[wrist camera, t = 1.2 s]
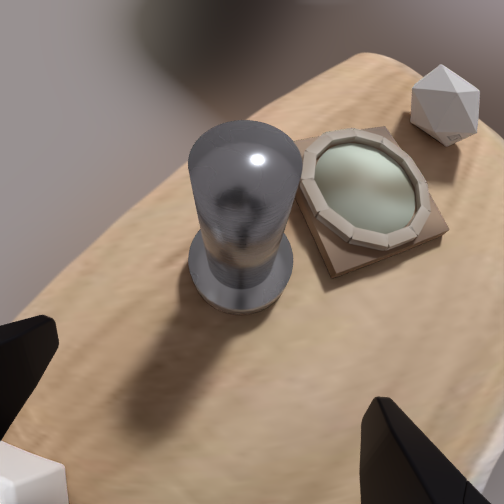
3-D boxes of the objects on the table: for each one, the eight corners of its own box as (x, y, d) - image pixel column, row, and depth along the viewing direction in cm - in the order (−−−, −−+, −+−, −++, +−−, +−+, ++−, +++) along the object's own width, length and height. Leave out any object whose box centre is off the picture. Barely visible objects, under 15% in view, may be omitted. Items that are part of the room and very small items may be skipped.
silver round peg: (303, 296, 22) (365, 212, 11) (208, 328, 21) (177, 269, 10) (269, 212, 25) (292, 91, 14) (181, 238, 24) (143, 123, 12)
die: (425, 166, 29) (502, 135, 22) (385, 93, 27) (463, 55, 20) (428, 145, 34) (491, 119, 27) (395, 85, 32) (457, 55, 25)
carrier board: (442, 235, 25) (454, 225, 23) (331, 278, 23) (339, 269, 21) (381, 134, 29) (387, 121, 27) (273, 153, 27) (275, 138, 25)
